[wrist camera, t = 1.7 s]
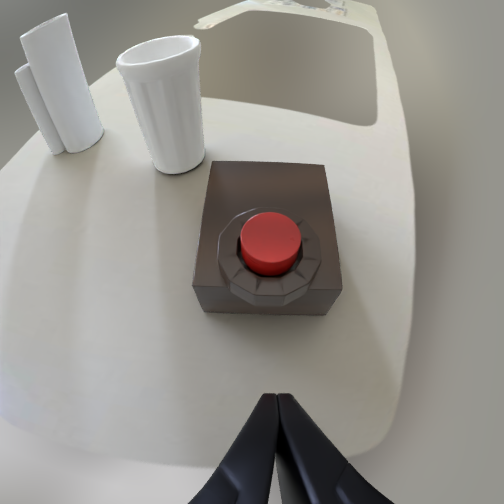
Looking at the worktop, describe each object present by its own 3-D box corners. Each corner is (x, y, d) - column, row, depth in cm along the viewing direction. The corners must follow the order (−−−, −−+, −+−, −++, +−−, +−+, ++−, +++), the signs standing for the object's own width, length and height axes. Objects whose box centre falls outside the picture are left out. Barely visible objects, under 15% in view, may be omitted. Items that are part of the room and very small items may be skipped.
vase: (112, 125, 38) (77, 8, 21) (85, 156, 35) (36, 30, 17) (64, 126, 40) (27, 29, 22) (39, 154, 36) (-9, 53, 19)
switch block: (326, 329, 23) (352, 296, 17) (202, 326, 23) (184, 292, 17) (315, 201, 30) (327, 149, 24) (217, 198, 30) (210, 145, 24)
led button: (298, 276, 18) (302, 263, 17) (239, 275, 18) (238, 261, 17) (296, 228, 20) (299, 212, 18) (242, 227, 20) (242, 210, 19)
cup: (134, 173, 32) (97, 67, 20) (170, 133, 36) (151, 36, 24) (191, 189, 31) (166, 66, 18) (225, 145, 34) (217, 35, 22)
